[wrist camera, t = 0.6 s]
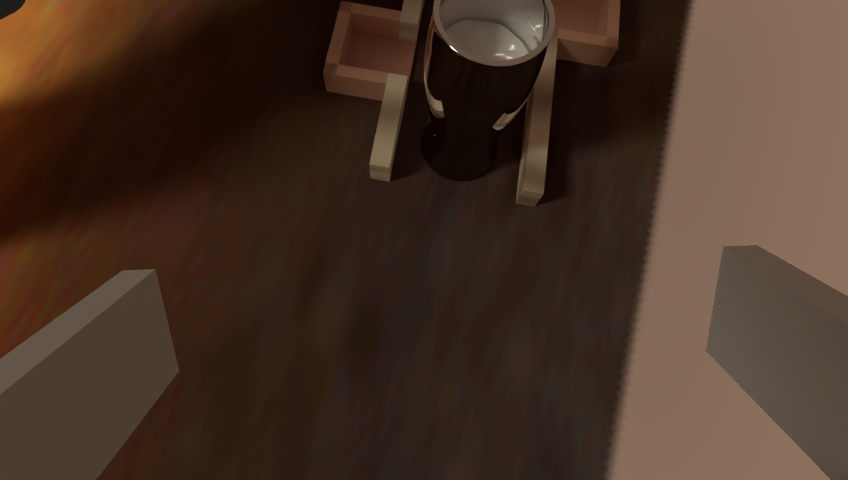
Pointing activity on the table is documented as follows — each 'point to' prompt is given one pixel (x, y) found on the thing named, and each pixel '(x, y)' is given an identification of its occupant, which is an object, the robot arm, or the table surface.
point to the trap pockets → (385, 53)
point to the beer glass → (479, 77)
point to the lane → (534, 124)
